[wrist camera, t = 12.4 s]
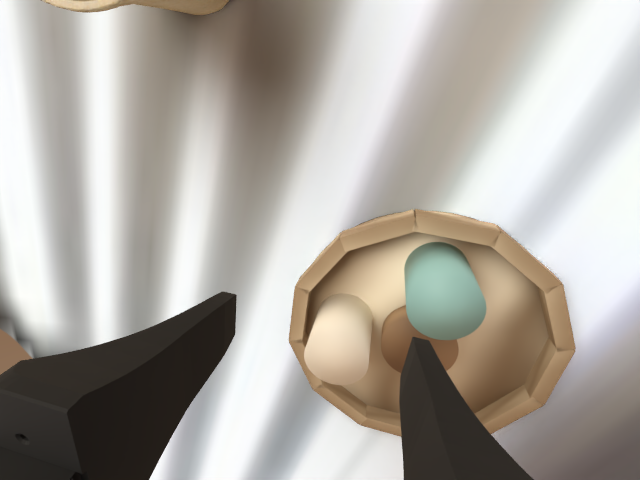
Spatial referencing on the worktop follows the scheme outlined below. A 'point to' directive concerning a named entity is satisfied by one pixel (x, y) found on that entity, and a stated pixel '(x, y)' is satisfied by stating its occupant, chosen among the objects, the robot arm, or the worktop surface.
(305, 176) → the worktop surface
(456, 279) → the bead teal
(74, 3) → the flower pot
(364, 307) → the bead cream
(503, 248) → the ring tray
